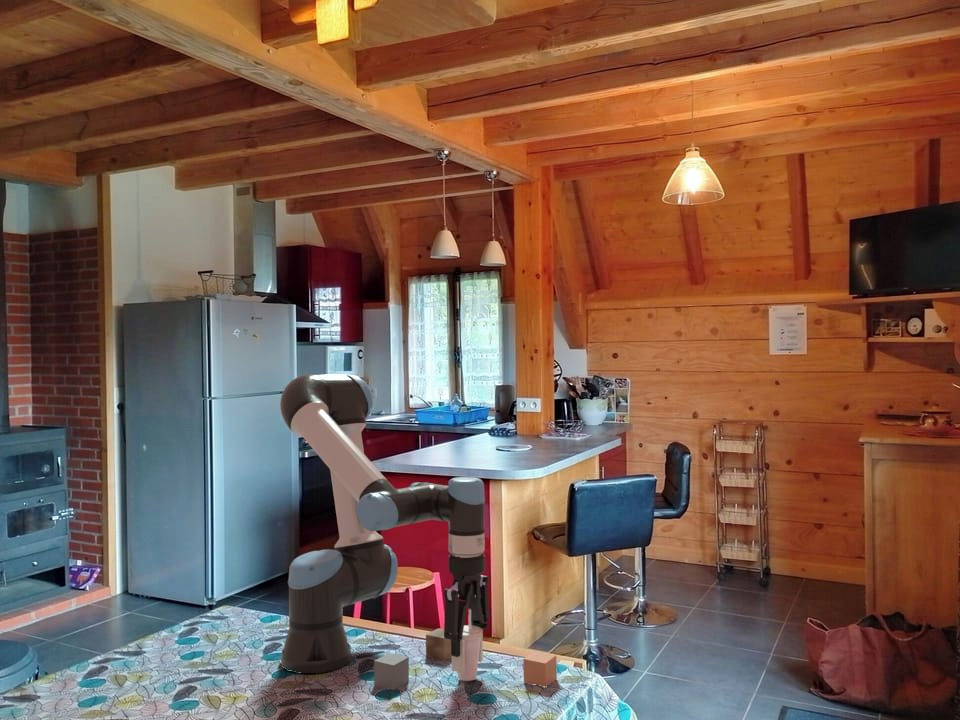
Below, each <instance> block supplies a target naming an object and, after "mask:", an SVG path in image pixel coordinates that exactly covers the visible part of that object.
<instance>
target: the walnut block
mask: <svg viewBox="0 0 960 720" xmlns="http://www.w3.org/2000/svg"><path fill="white" fill-rule="evenodd" d="M425 657H426V658H431V659H435V660H438V661H447V660H449V659H450V658H452V655H451V640H450V639H446V638H444V628H440V627H439V628H435V630H432V631H430V632H428V633H425Z"/></svg>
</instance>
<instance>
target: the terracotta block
mask: <svg viewBox="0 0 960 720" xmlns="http://www.w3.org/2000/svg"><path fill="white" fill-rule="evenodd" d="M522 664H523V683H524V682H525V683H530V684H536V685H541V686H545V687H546V686H547V685H549V684H550V685H552V684H553V683H554V682H555V681H557V680H556V679H558V677H557V675H558V674H557V673H558V671H557V655H555V654H551V653H546V652H541V651H538V650H537V651H535V650H534V651H532V652H531V653H530V654H529V655H526V656H525V657H524V658H523V663H522ZM553 681H554V682H553ZM552 682H553V683H552ZM525 683H524V684H525ZM551 683H552V684H551ZM530 684H529V685H530ZM550 685H549V686H550Z"/></svg>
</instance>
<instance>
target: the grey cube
mask: <svg viewBox="0 0 960 720" xmlns="http://www.w3.org/2000/svg"><path fill="white" fill-rule="evenodd" d="M373 661H374V662H373V666H374V667H373V668H374V669H373V671H374V673H373V675H374V676H373V679H374V681H373V682H374V683H373V685H374V686H377V687H381V688H384V689H388V690H392V691H395V690H396V689H398V688H400V687H401V686H403V685H405V684H407V683H408V682H410V674H409V673H410V671H409V670H410V668H409V665H410V664H409V663H410V662H409V661H410V660H409V656H404V655H400V654H396V653H391V652H389V653H387V654H385V655H382V656H381V657H379V658H377V659H375V660H373Z"/></svg>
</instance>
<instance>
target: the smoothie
mask: <svg viewBox="0 0 960 720" xmlns="http://www.w3.org/2000/svg"><path fill="white" fill-rule="evenodd" d="M467 609H468V610H467V611H468V613H467V614H468V617H467V618H468V620H467V621H468V623H467V625H465V624H464V629H463V635H462V639H465V672H464V673H460V672H457V674H458V675H457V676H458V679H459V680H461V681H462V682H463V681H465V682H471V681H474V680H476V679H477V676H478V666H479V661H478V659H479V650H480V642H481V637H482V635H483V636H484V633H483V634H482V629H481V628H480V627H477V626H472V621H471V609H469V608H467ZM457 634H458V633H457Z"/></svg>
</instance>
